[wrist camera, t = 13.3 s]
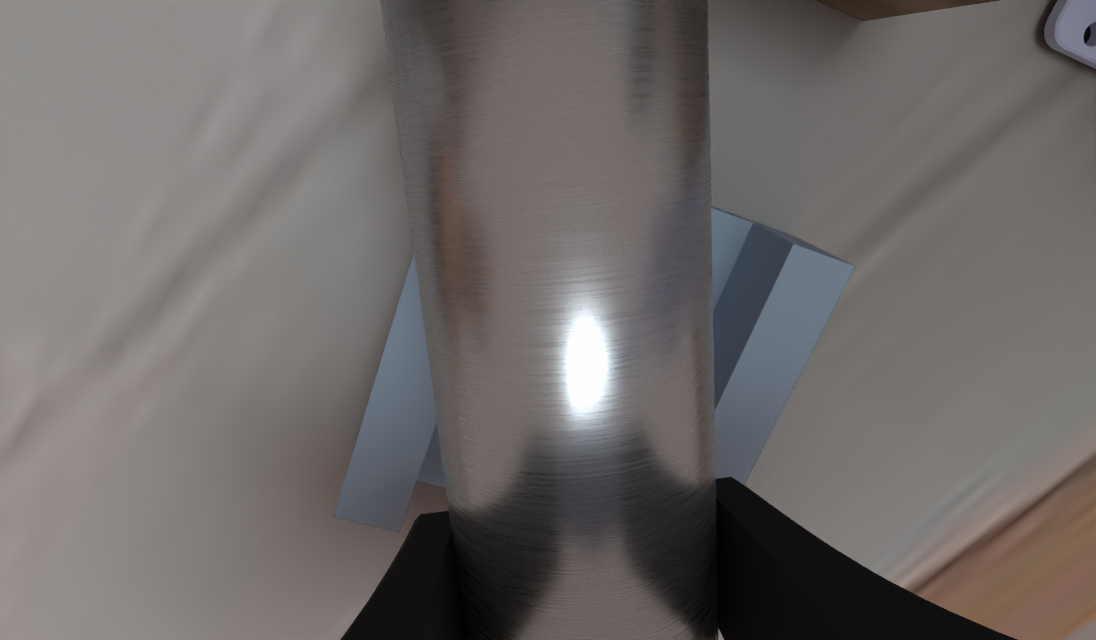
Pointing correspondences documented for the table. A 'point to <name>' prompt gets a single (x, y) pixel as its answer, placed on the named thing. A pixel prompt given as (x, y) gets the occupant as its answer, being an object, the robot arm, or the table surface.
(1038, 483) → the table surface
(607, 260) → the axle
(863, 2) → the beam
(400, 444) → the cradle
